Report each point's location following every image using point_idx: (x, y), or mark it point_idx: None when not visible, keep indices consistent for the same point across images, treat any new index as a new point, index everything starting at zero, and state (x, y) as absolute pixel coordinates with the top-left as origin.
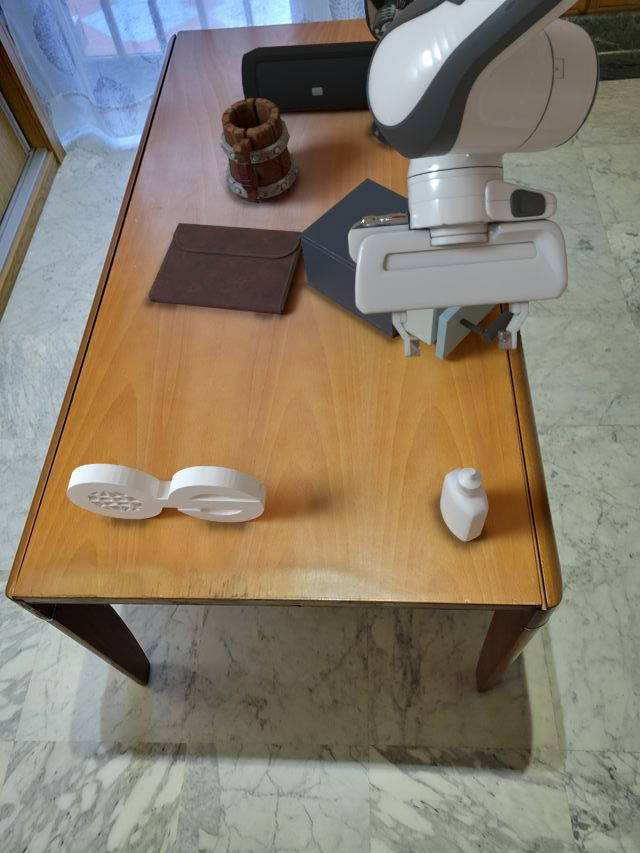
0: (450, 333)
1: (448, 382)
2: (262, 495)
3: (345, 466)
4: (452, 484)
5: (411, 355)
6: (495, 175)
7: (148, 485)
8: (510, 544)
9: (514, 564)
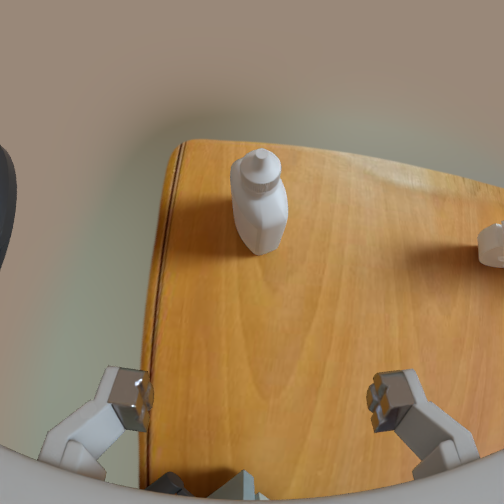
0: (232, 499)
1: (238, 436)
2: (493, 234)
3: (392, 310)
4: (281, 192)
5: (399, 370)
6: None
7: None
8: (201, 191)
9: (203, 170)
